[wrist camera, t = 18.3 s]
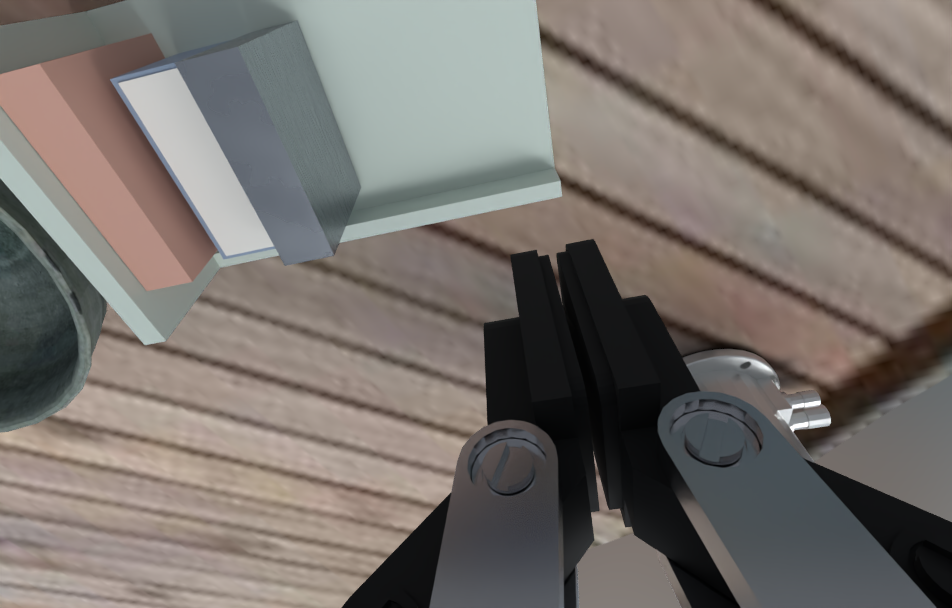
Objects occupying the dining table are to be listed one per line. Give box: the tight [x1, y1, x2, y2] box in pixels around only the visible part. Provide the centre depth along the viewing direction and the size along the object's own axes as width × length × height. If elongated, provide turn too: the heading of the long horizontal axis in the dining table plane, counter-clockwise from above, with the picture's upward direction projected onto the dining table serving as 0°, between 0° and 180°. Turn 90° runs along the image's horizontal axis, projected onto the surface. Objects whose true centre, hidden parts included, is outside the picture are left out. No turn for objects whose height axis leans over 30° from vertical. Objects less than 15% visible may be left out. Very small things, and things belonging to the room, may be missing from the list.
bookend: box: [175, 20, 361, 266], centre depth 23 cm, size 2×9×8 cm, turn 12°
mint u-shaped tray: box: [0, 0, 562, 345], centre depth 23 cm, size 23×14×10 cm, turn 102°
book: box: [110, 40, 276, 259], centre depth 24 cm, size 4×9×6 cm, turn 12°
